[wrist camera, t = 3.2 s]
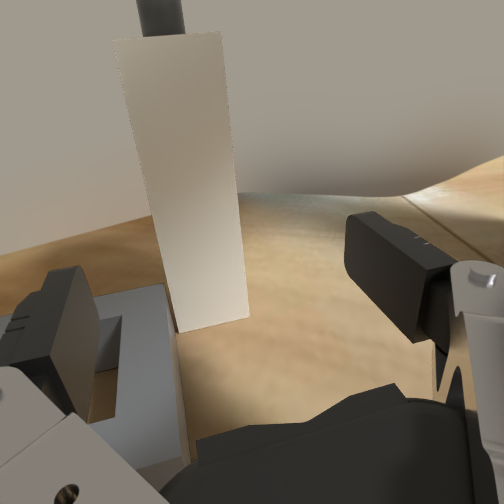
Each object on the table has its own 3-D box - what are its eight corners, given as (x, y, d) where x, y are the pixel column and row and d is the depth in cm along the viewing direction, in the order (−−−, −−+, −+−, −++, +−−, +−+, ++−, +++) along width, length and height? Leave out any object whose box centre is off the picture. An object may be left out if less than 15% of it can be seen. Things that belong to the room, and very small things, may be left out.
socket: (-15, 371, 21) (-43, 325, 20) (174, 327, 23) (163, 282, 22) (-136, 619, 12) (-211, 572, 10) (196, 509, 14) (181, 456, 12)
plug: (173, 292, 27) (105, -14, 18) (234, 280, 28) (198, -19, 19) (179, 333, 23) (94, -34, 14) (249, 317, 24) (214, -39, 15)
